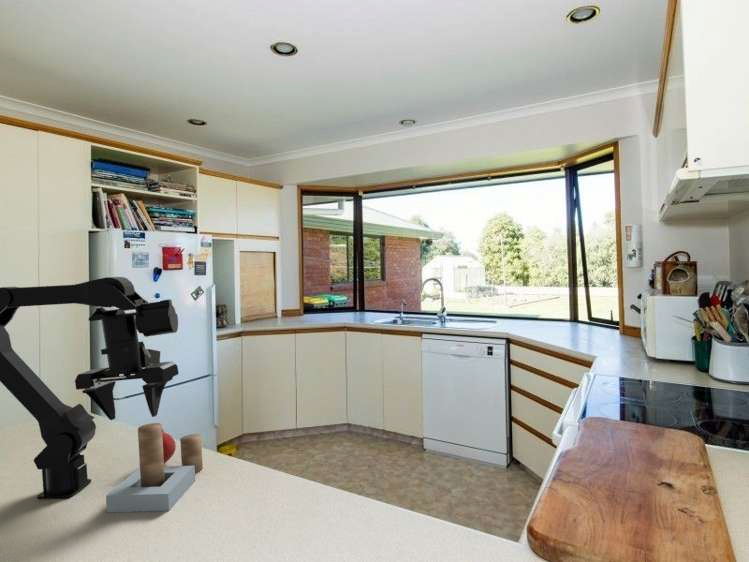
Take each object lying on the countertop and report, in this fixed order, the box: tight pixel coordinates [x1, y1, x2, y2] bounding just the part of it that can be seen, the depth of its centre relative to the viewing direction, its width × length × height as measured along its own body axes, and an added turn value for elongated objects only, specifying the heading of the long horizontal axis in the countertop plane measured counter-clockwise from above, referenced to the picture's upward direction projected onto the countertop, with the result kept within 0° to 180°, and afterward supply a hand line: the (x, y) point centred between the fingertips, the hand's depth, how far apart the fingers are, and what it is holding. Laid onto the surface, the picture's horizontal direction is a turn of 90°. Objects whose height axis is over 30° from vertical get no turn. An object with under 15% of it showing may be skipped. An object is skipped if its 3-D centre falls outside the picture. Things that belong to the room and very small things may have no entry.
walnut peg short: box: [179, 433, 204, 474], centre depth 94 cm, size 4×4×7 cm
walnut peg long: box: [137, 422, 165, 487], centre depth 84 cm, size 4×4×13 cm
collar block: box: [105, 465, 196, 513], centre depth 84 cm, size 11×11×3 cm
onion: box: [162, 427, 177, 465], centre depth 97 cm, size 6×6×8 cm
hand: (133, 417), depth 89 cm, fingers open, 9 cm apart
